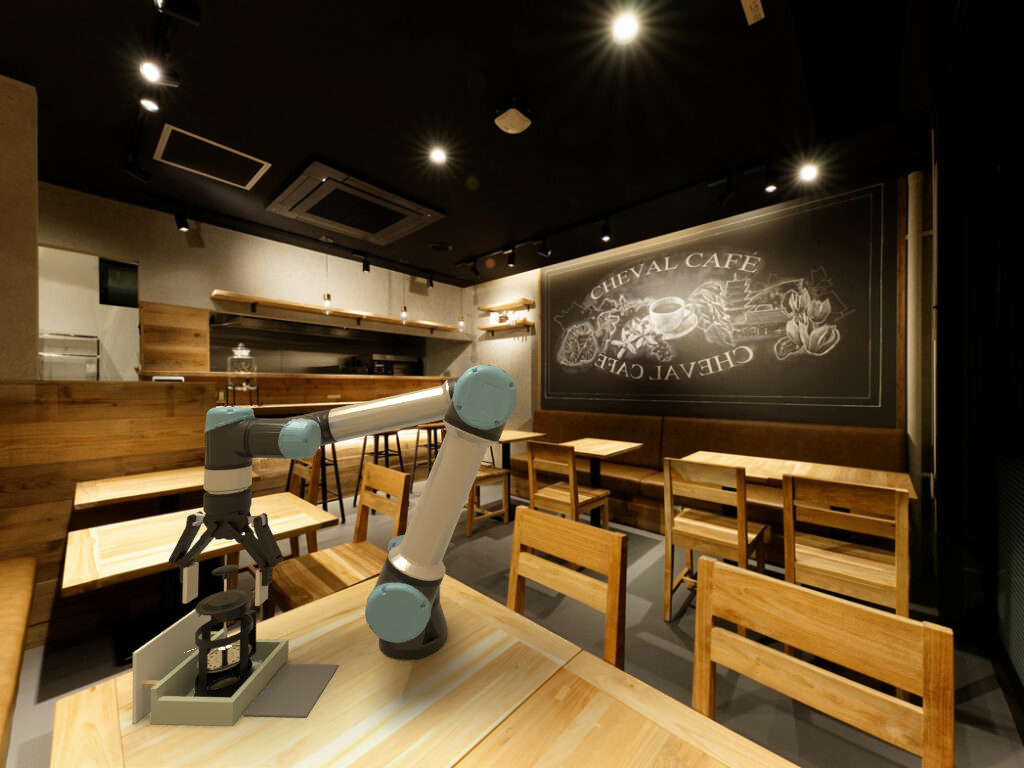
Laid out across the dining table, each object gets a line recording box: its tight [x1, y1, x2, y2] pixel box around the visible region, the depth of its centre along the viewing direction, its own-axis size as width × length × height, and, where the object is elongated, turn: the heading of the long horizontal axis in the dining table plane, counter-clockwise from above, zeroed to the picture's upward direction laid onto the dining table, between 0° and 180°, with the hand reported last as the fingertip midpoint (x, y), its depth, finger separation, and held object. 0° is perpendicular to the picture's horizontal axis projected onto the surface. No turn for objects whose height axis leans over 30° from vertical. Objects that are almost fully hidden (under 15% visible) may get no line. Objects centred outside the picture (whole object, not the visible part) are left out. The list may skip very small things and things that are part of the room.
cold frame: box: [131, 608, 290, 727], centre depth 78 cm, size 17×17×12 cm
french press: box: [192, 564, 257, 698], centre depth 78 cm, size 12×9×23 cm
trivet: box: [242, 662, 340, 719], centre depth 78 cm, size 11×13×1 cm
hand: (225, 601), depth 78 cm, fingers open, 13 cm apart
